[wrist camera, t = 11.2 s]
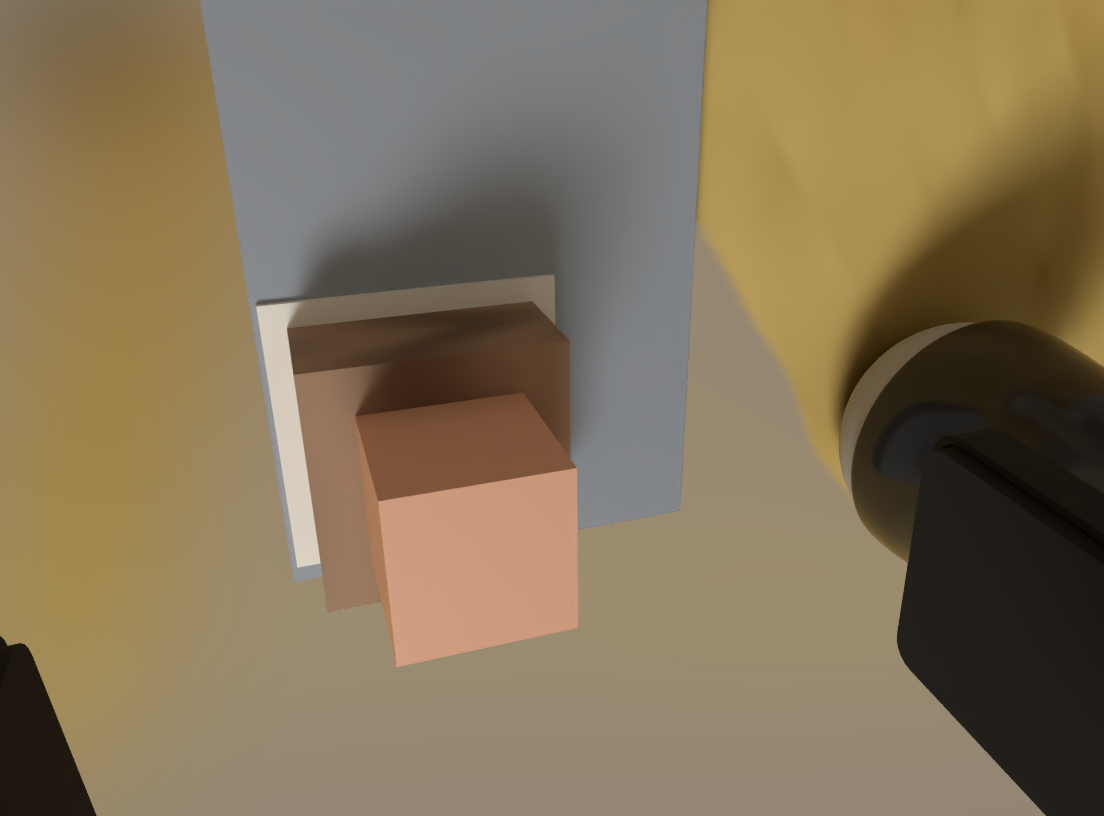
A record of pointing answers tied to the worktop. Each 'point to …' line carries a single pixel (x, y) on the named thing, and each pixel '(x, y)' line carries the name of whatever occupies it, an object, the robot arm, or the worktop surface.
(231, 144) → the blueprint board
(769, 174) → the worktop surface
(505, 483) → the top cube
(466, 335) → the base block
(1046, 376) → the black penguin toy
